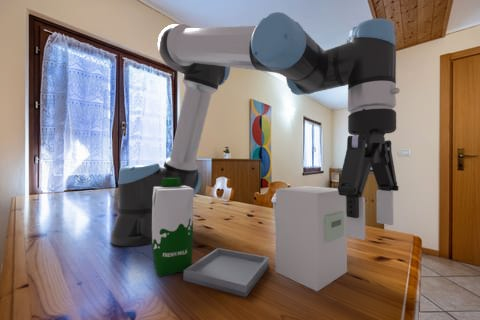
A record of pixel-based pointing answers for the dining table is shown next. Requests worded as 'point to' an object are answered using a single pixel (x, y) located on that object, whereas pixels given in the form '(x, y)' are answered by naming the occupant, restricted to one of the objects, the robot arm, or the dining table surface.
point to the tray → (227, 271)
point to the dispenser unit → (311, 235)
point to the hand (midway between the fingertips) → (371, 230)
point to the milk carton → (172, 226)
